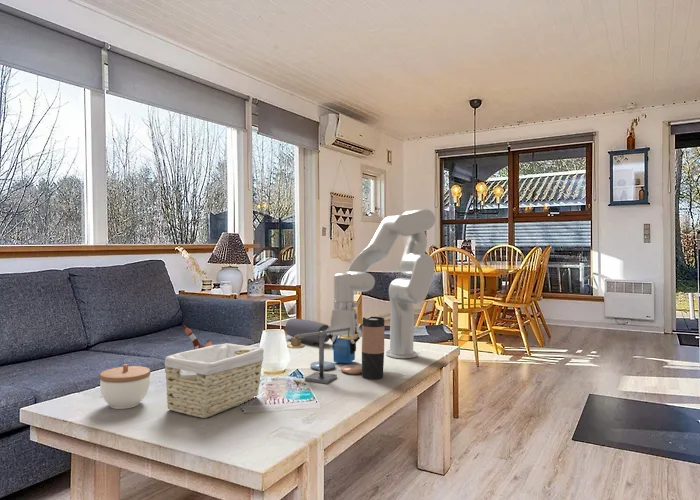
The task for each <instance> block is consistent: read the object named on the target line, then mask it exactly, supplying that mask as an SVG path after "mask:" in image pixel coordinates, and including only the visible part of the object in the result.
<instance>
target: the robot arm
mask: <svg viewBox="0 0 700 500" xmlns="http://www.w3.org/2000/svg"><path fill="white" fill-rule="evenodd" d="M435 224H436V216H435V213H434V212H433V210H430V209H428V208H421V209H420V208H419V209H409V210H406V211H404V212H403V213H401V214H396V215H395V214H394V215H387V216H386V217H384V218H383V219H382V220H381V222H380V224H379V226H378V227H377V229H376V231H375V233H374V234H373V237H372V238H371V240H370V242H369V243H368V245H367V246H366V247H365V248H364V249H363V250H362V251H361V252H360V253H359V254H358V255H357V256H356V257H355V258H354V259H353V260H352V262H351V263H350V265H349V266H348V268H347V271H345V272H337V273H335V274H334V275H333V308H332V309H331V316H330V325H329V328H328V329H327V330H334V329H341V328H348V327H350V330H349V335H357V336H358V338H357V339H352V340H351V344H350V354H353V353H355V354H356V351H357V343H358V341H359V340H360V339H362V329H361V328H360V327H359V319H358V314H357V313H358V312H357V309H356V308H355V307H358V303H357V302H355V300H354V299H355V298H354V297H355V296H354V294H355V292H363V293H365V292H369V291H371V290H373V288H374V286H375V284H376V280H375V277H374V276H373V275H372V273H371V274H370V273H369V272H367V271H368V269H370V267H371V266H372V265H374V264H376V263H377V262H379V261H382V260H383V259H385V258H387V257H388V256H389V254H390V251H391V249H392V248H393V245H394V244H395V242H396V240H397V239H398V237H406V243H405V246H404V249H403V252H402V256H401V258H400V259H401V260H400V262H399V271H400V272H401V273H402V274H403V275H404V276H407V277H410V278H407V277H397V278H395V279H393V280H392V281H391V282H390V283H389V287H388V297H389V303H390V323H389V324H390V325H389V326H390V327H389V330H390V331H389V332H390V333H389V336H390V337H389V338H390V339H389V350H387V351H385V354H386V356H387V357H389V358H393V359H394V358H395V359H413V358H417V356H418V353H417V352H416V351H414V334H415V331H414V329H415V311H414V310H415V309H414V306H413V304H414V305H415V304H417V305H418V304H421V303H423V302H424V301H425V300H426V298H427V296H428V293H429V290H430V286H431V284H432V280H433V277H434V274H435V269H436V267H435V260H434V259H433V258H432V256H431V255H429V254H427V253H426V251H427V246H428V239H427V235H426V233H425V232H426V231H428V230H430V229H432V228H433V227H434V225H435ZM327 330H326V331H327ZM326 334H327V335H328V337H329V338H330V339H329V340H330V341H331V342H332V346H333V345H334V344H335V342H336V340H337V338H339V336H340V335H348V331H340V332H333V333H326Z"/></svg>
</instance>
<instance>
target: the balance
mask: <svg viewBox="0 0 700 500" xmlns="http://www.w3.org/2000/svg"><path fill="white" fill-rule="evenodd" d="M349 330H350V327H348V328H341V329H334V330H327V331H320V332H313V333H306V334H299V335H295V337H290V343H288V344H286V347H287V348H288V349H295V350H296V349H303V348H305V346H306V344H304V343H302V342H301V337H305V336H312V335H319V344H318V362H319V370H318V372H317V371H315V372H313V373H311V374H309V375H308V376H305V377H304V381H305V380H307V381H306V382H310V383H311V382H312V383H319V384H325V385H326V384H329V383H331V382H332V381H334V380H336V379H337V378H338V375H337V374H334V373H327V372H326V373H325V372H324V371H325V370H324V361H325V360H324V359H325V354H324V353H325V343H324V336H325V334H326V333H333V332H340V331H348V335H340V336H338V338H340V339H347V340H352V339H357V338H358V335H357V334H355V335H349Z"/></svg>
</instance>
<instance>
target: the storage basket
mask: <svg viewBox="0 0 700 500" xmlns="http://www.w3.org/2000/svg"><path fill="white" fill-rule="evenodd" d="M263 361H264V348H262V347H255V346H251V345H250V346H249V345H245V344H244V345H243V344H235V343H227V342H225V343H220V344H213V346H208V347H204V348H199V349H195V350H194V349H191V350H187V351H181V352H178V353H174V354H169V355H167V356H166V357H165V359H164V367H165V368H164V373H165V379H166V380H165V381H166V383H165V386H166V401H167V404H166V405H167V409H168V410H169V411H173V412H176V413H180V414H185V415H187V416H193V417H196V418H197V417H198V418H201V419H206V418H209V417H213V416H215V415H216V414H219V413H221V412H224V411H227V410H228V409H232V408H236V407H238V406H239V407H240V406H241V405H243V404H245V403H247V402H248V400H249V401H252V400H253V399H252V398H254V396H257V395H258V396H259V392H260V391H259V388H260V382H261V375H262V374H261V373H262V366H263ZM251 399H252V400H251ZM254 399H255V398H254ZM244 402H245V403H244ZM242 403H243V404H242ZM240 404H241V405H240Z"/></svg>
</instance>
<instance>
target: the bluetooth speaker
mask: <svg viewBox="0 0 700 500" xmlns="http://www.w3.org/2000/svg"><path fill="white" fill-rule="evenodd" d="M329 327H330V325H328V324H327V323H322V322H318V321H314V320H309V319H301V318H289V319H288V320H287V321H286V323H285V326H284V331H285V333H286V335H287V336H289V337H290V338H292V337H295V335H299V334H306V333H313V332H320V331H326V330H327V329H328V328H329ZM329 340H331V339H330V338H329V337H328V335H327V334H325V336H324V344H325V343H328V342H329ZM301 343H306V344H310V345H311V344H312V345H315V344H318V343H319V335H312V336H305V337H301Z"/></svg>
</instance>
